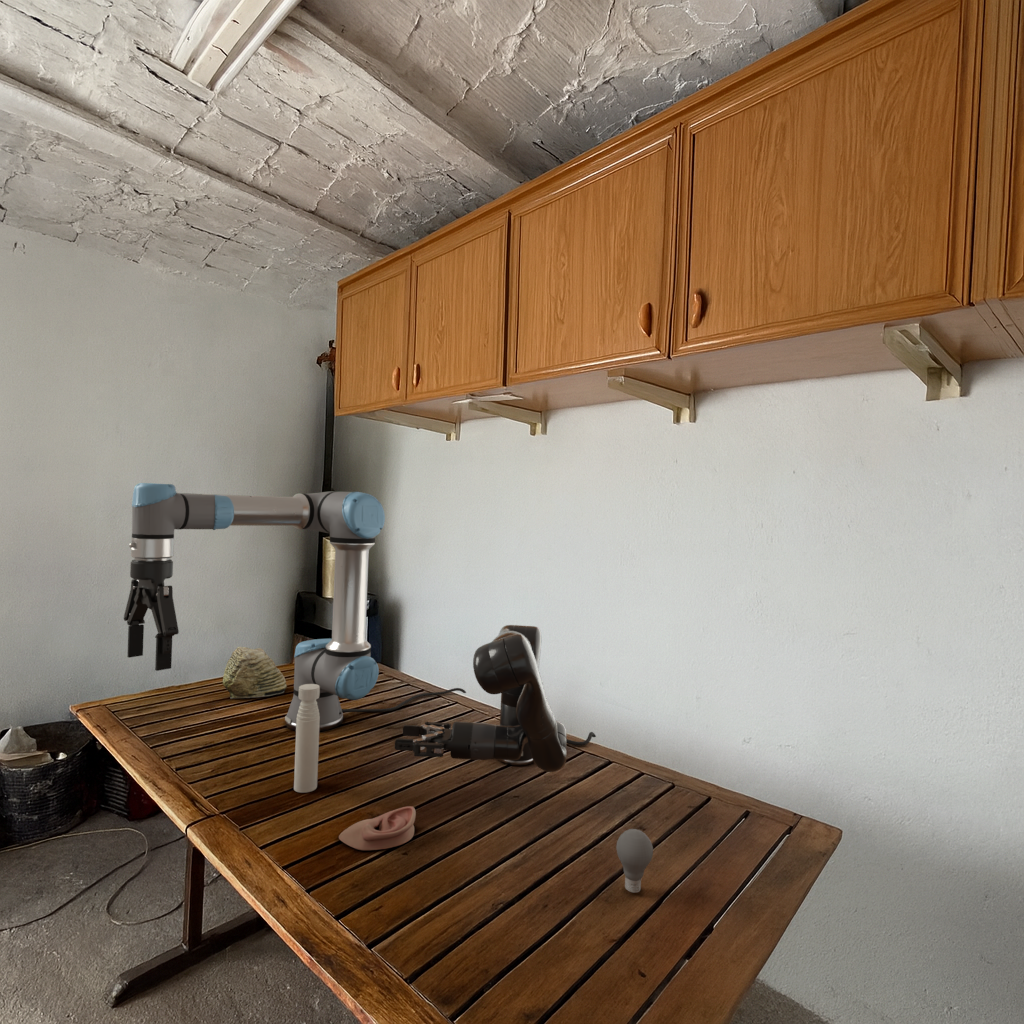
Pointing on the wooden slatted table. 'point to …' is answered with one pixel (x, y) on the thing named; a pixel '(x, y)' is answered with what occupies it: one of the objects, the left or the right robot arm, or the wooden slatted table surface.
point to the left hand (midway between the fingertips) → (148, 662)
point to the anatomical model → (381, 830)
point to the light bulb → (634, 857)
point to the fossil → (252, 674)
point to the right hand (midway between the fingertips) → (399, 736)
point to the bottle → (306, 747)
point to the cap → (309, 692)
